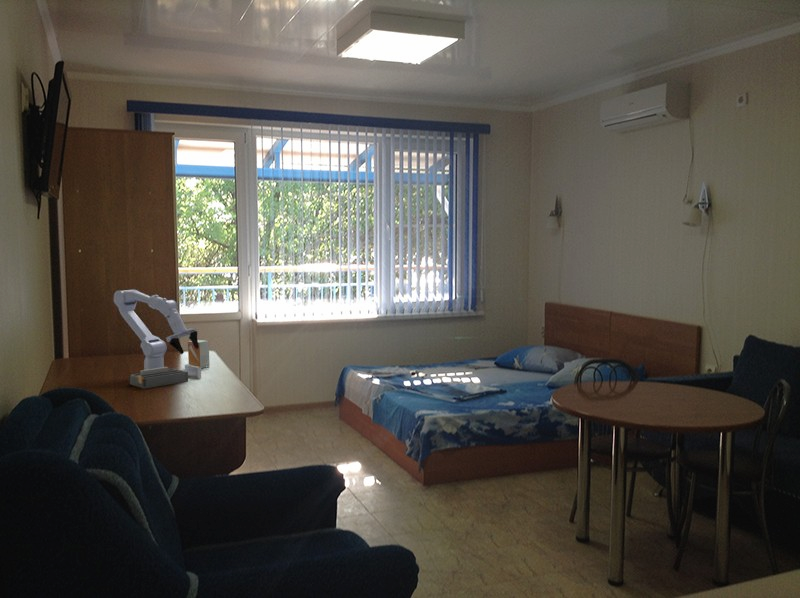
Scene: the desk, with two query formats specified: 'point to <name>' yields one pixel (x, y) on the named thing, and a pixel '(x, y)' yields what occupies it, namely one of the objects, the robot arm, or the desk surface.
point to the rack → (158, 377)
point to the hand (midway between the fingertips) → (190, 350)
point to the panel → (193, 371)
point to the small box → (199, 354)
